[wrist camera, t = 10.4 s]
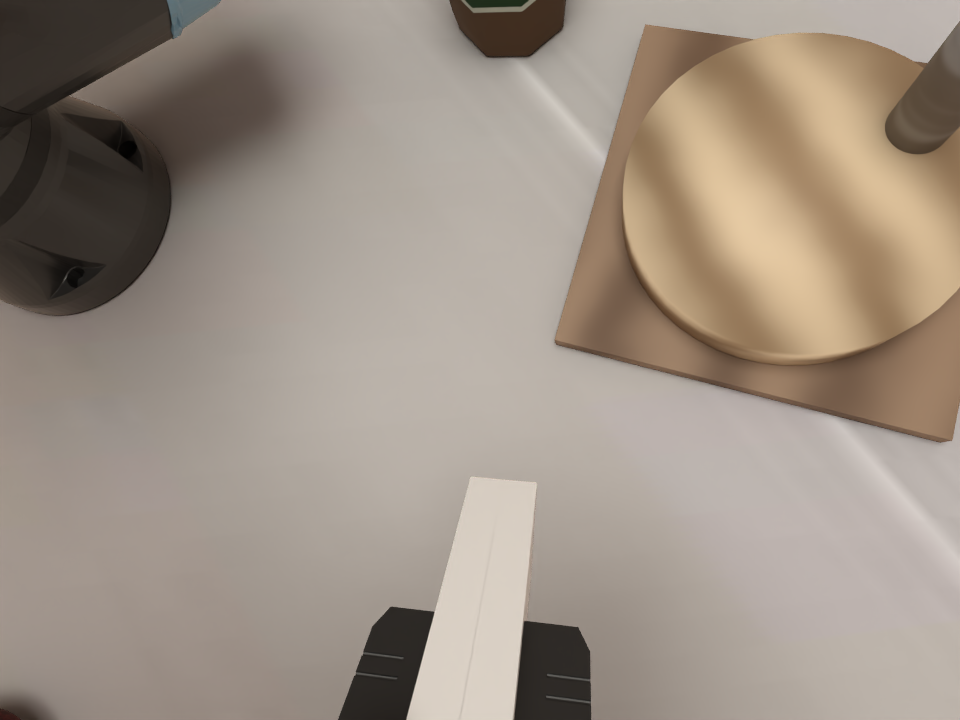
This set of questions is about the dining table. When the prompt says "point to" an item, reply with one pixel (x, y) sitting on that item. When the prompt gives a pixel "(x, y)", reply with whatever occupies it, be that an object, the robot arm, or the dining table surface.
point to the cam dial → (799, 196)
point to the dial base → (665, 347)
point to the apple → (7, 715)
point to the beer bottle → (509, 24)
